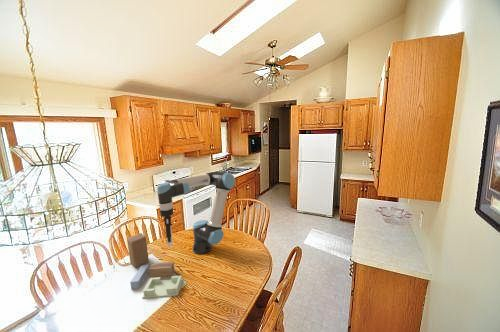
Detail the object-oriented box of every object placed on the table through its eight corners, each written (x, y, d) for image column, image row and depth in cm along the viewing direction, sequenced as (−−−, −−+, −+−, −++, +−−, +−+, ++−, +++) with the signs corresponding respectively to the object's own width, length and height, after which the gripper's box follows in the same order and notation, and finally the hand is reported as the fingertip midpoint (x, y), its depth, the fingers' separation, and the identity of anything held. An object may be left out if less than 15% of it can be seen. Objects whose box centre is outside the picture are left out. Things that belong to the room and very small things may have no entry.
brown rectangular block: (153, 272, 141) (152, 263, 140) (174, 271, 142) (173, 261, 141) (150, 278, 135) (149, 269, 134) (172, 277, 136) (171, 267, 135)
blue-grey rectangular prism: (142, 271, 143) (141, 265, 142) (149, 271, 143) (148, 264, 142) (131, 289, 127) (130, 281, 126) (138, 288, 127) (137, 281, 126)
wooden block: (149, 261, 153) (146, 236, 150) (134, 268, 146) (131, 242, 143) (144, 256, 160) (141, 232, 157) (130, 262, 153) (126, 237, 149)
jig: (151, 282, 132) (150, 276, 131) (183, 279, 133) (182, 274, 133) (142, 298, 119) (141, 292, 119) (177, 295, 121) (177, 289, 120)
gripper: (160, 203, 136) (163, 233, 140) (158, 217, 113) (163, 252, 117) (172, 201, 139) (175, 230, 142) (173, 215, 116) (177, 249, 120)
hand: (170, 240), depth 130 cm, fingers open, 13 cm apart
